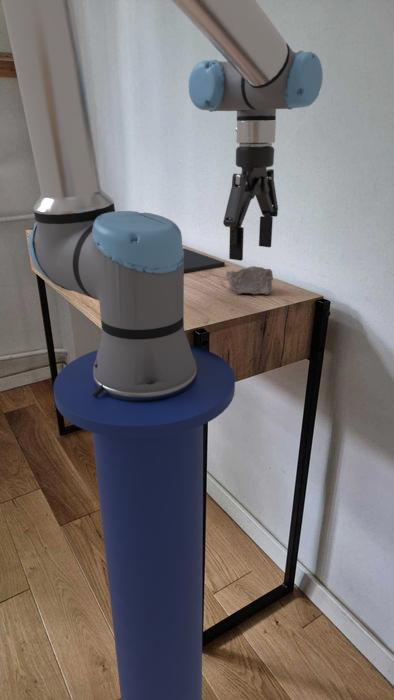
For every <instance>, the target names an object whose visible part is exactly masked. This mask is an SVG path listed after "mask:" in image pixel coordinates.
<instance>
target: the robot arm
mask: <svg viewBox="0 0 394 700" xmlns="http://www.w3.org/2000/svg"><path fill="white" fill-rule="evenodd" d="M171 2H172V3H174V5H175V6H176V7H177V8H178V9H179V10H180V11H181V13H183V14H184V16H185V17H186V18H187V19H188V20H189V21H190V22H191V23H192V25H193V26H195V28H196V29H197V30H198V31H199V32H200V33H201V34H202V36H203V37H205V38H206V40H207V41H208V42H209V43H210V44H211V45H212V46H213V47H214V48H215V50H217V51H218V52H219V53H220V54H221V56H222V57H223V58H224V59H225V61H219V60H217V59H213V60H211V59H210V60H202V61H199V62H197V64H195V65H194V67H193V68H192V70H191V72H190V75H189V77H188V94H189V98H190V100H191V102H192V104H193V105H194V106H195V107H196V108H197V109H199V110H201V111H208V112H210V113H212V112H236V127H235V132H236V143H237V144H239V146H236V148H235V165H236V167H238V168H241V173H233V174H232V179H231V180H232V181H231V188H230V191H229V196H228V200H227V205H226V209H225V213H224V217H223V222H222V223H223V225H224V227H225V228H229V251H228V252H229V255H228V259H229V260H233V261H240V262H241V261H243V259H244V233H245V231H244V230H245V229H244V226H242V225H243V222H244V220H245V217H246V215H247V212H248V209H249V206H250V204H251V201H252V200H253V199H255V198H256V201H257V204H258V206H259V209H260V212H261V214H262V215H261V216H259V232H258V233H259V235H258V247H263V248H272V239H273V238H272V237H273V220H274V217H276V218H277V217H278V215H279V213H278V211H279V204H278V198H277V193H276V192H277V191H276V185H275V170H274V169H271V167H273V166H274V164H275V163H274V162H275V148H274V146H273V144H274V143H276V129H277V128H276V127H277V126H276V125H277V121H276V120H277V110H293V109H298V108H299V109H300V108H307V107H310V106H312V105H313V104H314V103H315V102H316V100H317V99H318V97H319V95H320V91H321V88H322V86H323V79H324V78H323V75H324V74H323V65H322V62H321V59H320V58H319V56H318V55H317V54H316V53H314V52H312V51H303V50H298V52H295V51H294V50H293V49H292V48H291V47H290V45H289V44H288V43H287V42H286V40H285V38H284V37H283V36H282V34H281V33H280V31H279V30H278V29H277V27H276V26H275V25H274V24H273V22H272V21H271V19H270V18H269V17H268V15H267V14H266V12H265V11H264V9H263V8H262V6H260V4H259V3H258V1H257V0H171ZM1 4H2V9H3V14H4V19H5V22H6V28H7V33H8V34H7V35H8V39H9V43H10V48H11V53H12V58H13V62H14V67H15V73H16V77H17V82H18V86H19V92H20V97H21V102H22V106H23V111H24V116H25V121H26V126H27V131H28V135H29V141H30V146H31V150H32V155H33V160H34V164H35V169H36V170H35V171H36V174H37V179H38V184H39V190H40V196H39V198H38V200H37V201H36V203H35V204H34V205H33V209H32V210H33V214H34V218H35V222H34V224H33V229H32V231H30V233H29V237H28V251H29V255H30V258H31V261H32V264H33V265H34V268H35V269H36V270H37V271H38V272H39V273H40V275H42V276H43V277H44V278H45V279H46V280H48V281H49V282H51V283H53V285H55V286H58V287H60V288H61V289H64V290H66V291H71V292H75V293H78V294H81V295H84V296H86V297H88V298H91V299H94V300H96V301H99V313H100V323H101V335H100V339H99V343H98V347H97V350H98V351H97V357H96V360H95V363H94V367H93V379H94V385H95V387H96V388H97V390H96V391H95V392H94V393H93V394H92V395H93V396H94V397H97V396H98V395H99V394H100V393H102V394H104V395H106V396H108V397H110V398H113V399H117V400H121V401H127V402H154V401H160V400H165V399H169V398H172V397H175V396H177V395H180V394H182V393H184V392H185V391H187V390H188V389H189V388H191V387H192V386H193V384H194V383H195V381H196V378H197V367H196V361H195V359H194V357H193V355H192V352H191V348H190V345H191V344H190V342H189V338H188V337H187V334H186V330H185V323H184V322H185V321H184V319H185V317H184V316H185V315H184V312H185V310H184V307H185V306H184V305H185V304H184V303H185V302H184V301H185V299H184V298H185V296H184V295H185V294H184V293H185V273H184V251H183V249H184V248H183V236H182V232H181V229H180V227H179V226H178V224H176V223H175V222H174V221H173V220H171V219H169V218H167V217H164V216H162V215H159V214H156V213H155V214H154V213H151V212H139V211H135V210H118V211H116V208H115V201H114V200H115V199H114V198H113V197H112V196H111V195H110V194H108V193H107V192H106V191H105V190H103V188H102V184H101V183H102V182H101V177H100V176H101V175H100V169H99V163H98V156H97V149H96V143H95V142H96V141H95V136H94V129H93V122H92V115H91V109H90V108H91V107H90V101H89V96H88V89H87V82H86V76H85V75H86V74H85V68H84V61H83V56H82V55H83V54H82V48H81V42H80V35H79V28H78V22H77V16H76V7H75V1H74V0H1Z"/></svg>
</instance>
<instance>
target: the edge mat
mask: <svg viewBox="0 0 394 700" xmlns="http://www.w3.org/2000/svg"><path fill="white" fill-rule="evenodd" d="M183 251H184V274H185V273H193V272H197V271H203V270H209V269H216V268H222V267H225V265H226V264H225V263H226V262H225V261H222V260H219V259H216V258H215V257H214V258H213V257H210V256H208V255H205V254H202V253H199V252H196V251H193V250H190V249H187V248H185V247H184V248H183Z"/></svg>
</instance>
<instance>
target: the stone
mask: <svg viewBox="0 0 394 700" xmlns="http://www.w3.org/2000/svg"><path fill="white" fill-rule="evenodd" d="M225 277H226V280H227V282H228V284H229V288H230V289H231V290H232V291H233V292H234V293H235V294H237V295H241V294H251V295H261V294H263V295H269V294H270V293H271V290H272V288H273V284H272V283H273V280H274V274H273V271H272V269H270V268H265V267H262V266H261V267H259V266H254V265H253V266H252V265H251V266H249V267H245V268H241V269H239V270H238V271H237V270H236V271H234V270H230V271H228V270H227V271H226V272H225Z"/></svg>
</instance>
